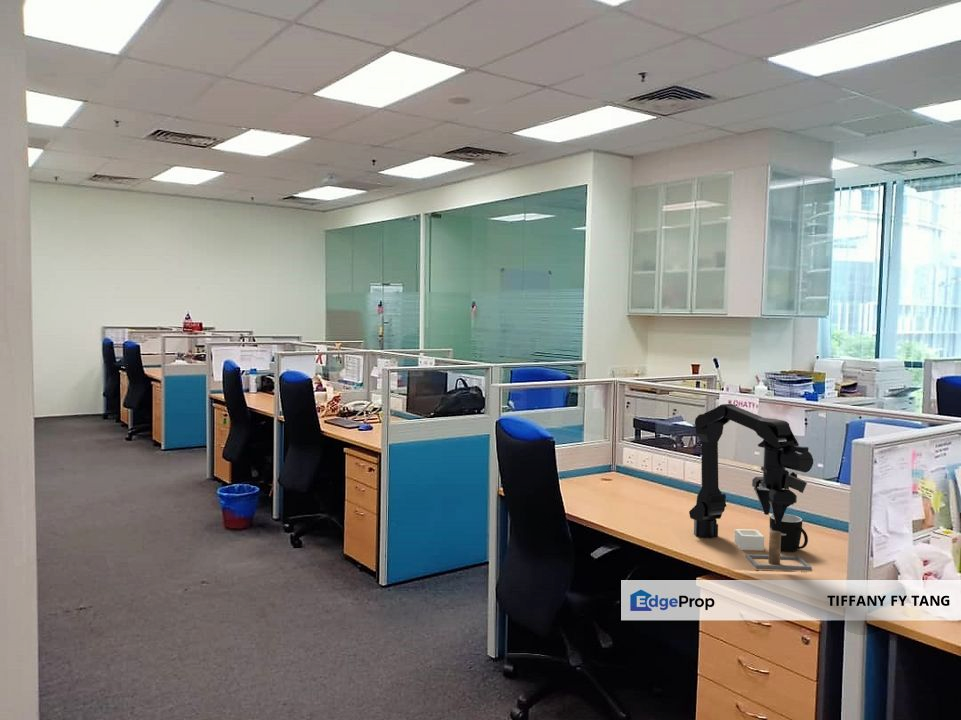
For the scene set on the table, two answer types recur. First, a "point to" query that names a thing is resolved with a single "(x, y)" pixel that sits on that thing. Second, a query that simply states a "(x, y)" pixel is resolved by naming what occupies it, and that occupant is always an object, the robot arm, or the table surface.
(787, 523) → the mug
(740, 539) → the white open box
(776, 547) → the pin
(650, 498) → the table surface
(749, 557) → the grey rectangular frame
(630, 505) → the table surface
